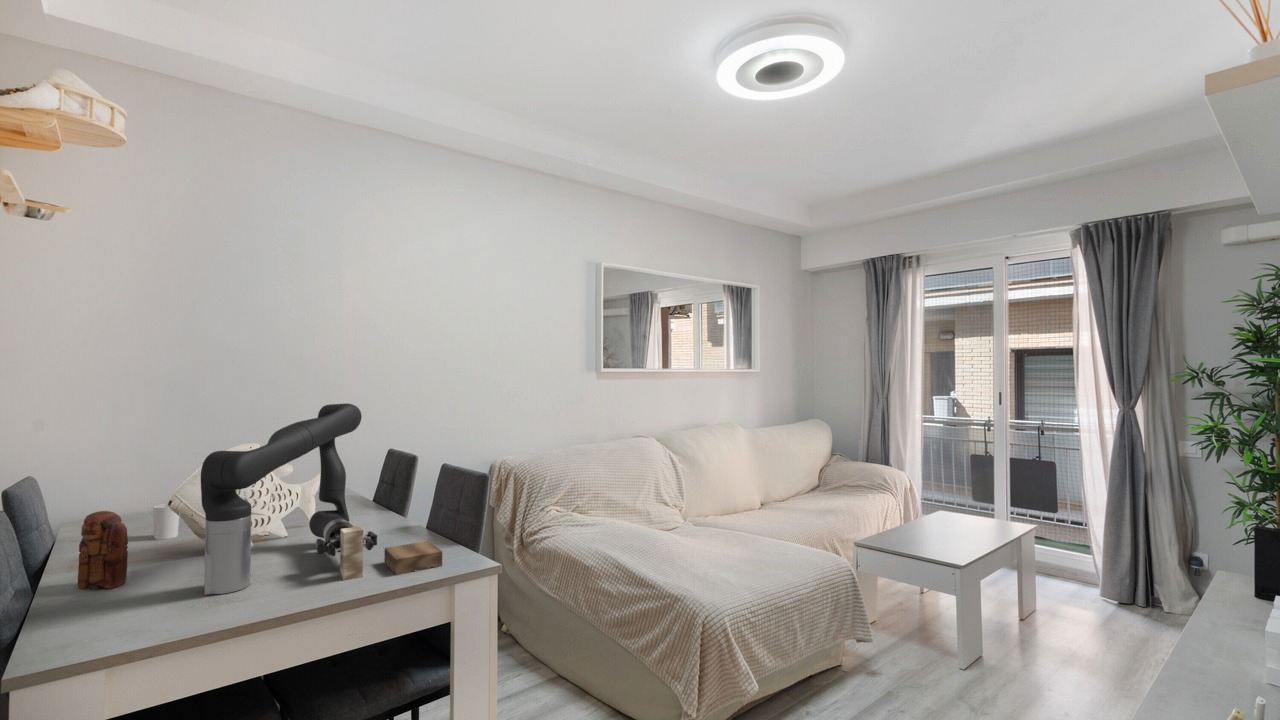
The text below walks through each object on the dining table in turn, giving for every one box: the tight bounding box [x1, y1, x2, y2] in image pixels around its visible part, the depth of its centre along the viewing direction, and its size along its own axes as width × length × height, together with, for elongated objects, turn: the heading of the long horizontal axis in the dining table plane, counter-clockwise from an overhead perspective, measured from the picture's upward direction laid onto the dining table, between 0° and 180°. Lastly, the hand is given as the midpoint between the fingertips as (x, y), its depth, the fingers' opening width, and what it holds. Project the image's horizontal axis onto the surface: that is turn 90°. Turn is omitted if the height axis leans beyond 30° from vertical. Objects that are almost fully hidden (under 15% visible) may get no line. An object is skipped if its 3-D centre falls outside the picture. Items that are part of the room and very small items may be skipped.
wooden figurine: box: [77, 510, 129, 590], centre depth 146 cm, size 12×6×18 cm, turn 86°
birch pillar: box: [339, 525, 364, 581], centre depth 153 cm, size 4×4×12 cm
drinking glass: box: [152, 502, 180, 541], centre depth 187 cm, size 7×7×10 cm
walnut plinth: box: [384, 540, 443, 576], centre depth 162 cm, size 12×12×4 cm
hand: (352, 549), depth 153 cm, fingers open, 8 cm apart
